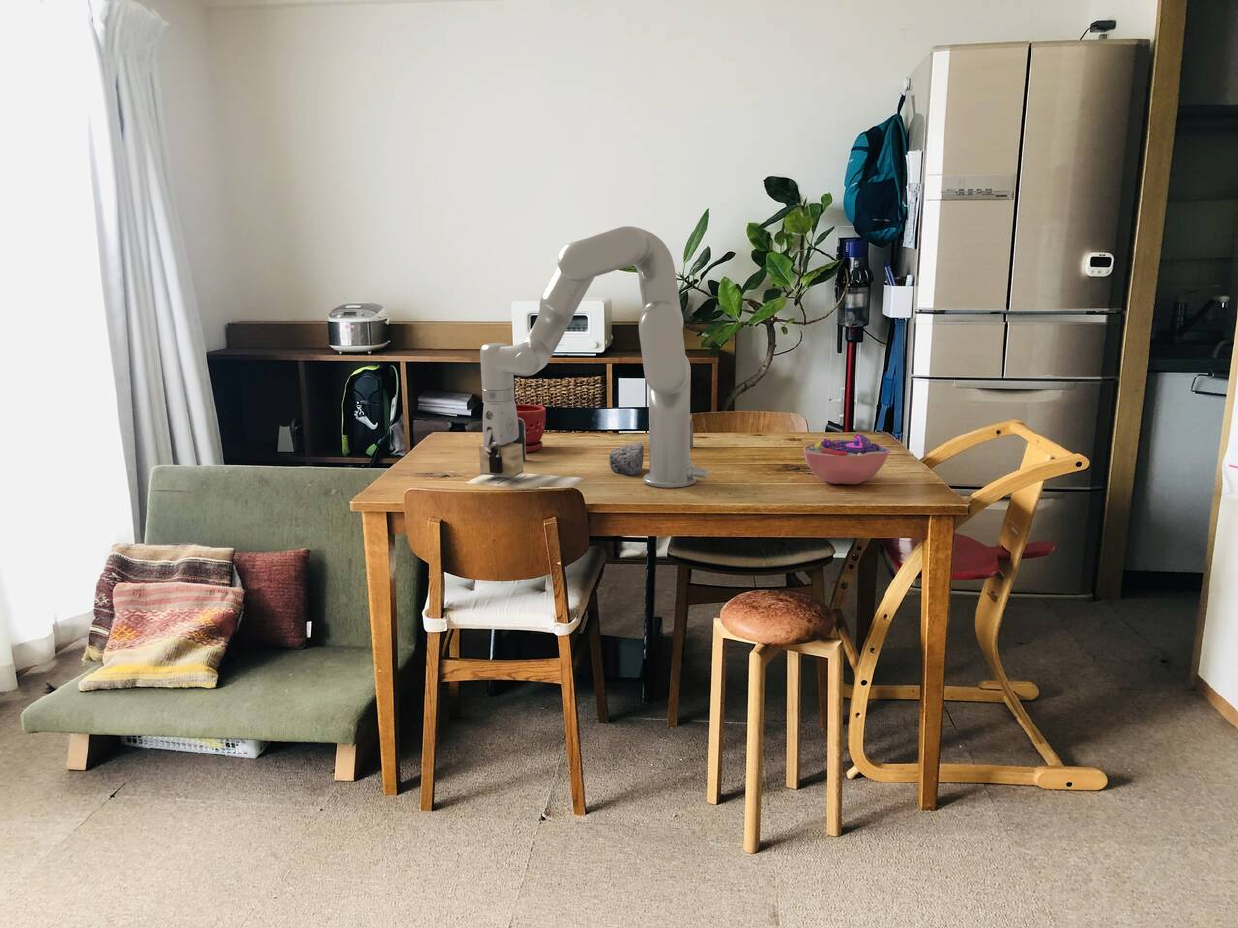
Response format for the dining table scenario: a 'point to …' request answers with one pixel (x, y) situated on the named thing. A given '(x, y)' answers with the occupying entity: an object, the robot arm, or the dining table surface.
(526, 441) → the plant pot
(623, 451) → the pumice stone
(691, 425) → the ruin model on sheet
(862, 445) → the cell model
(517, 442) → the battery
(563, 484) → the board
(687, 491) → the dining table surface
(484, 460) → the block
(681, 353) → the robot arm
